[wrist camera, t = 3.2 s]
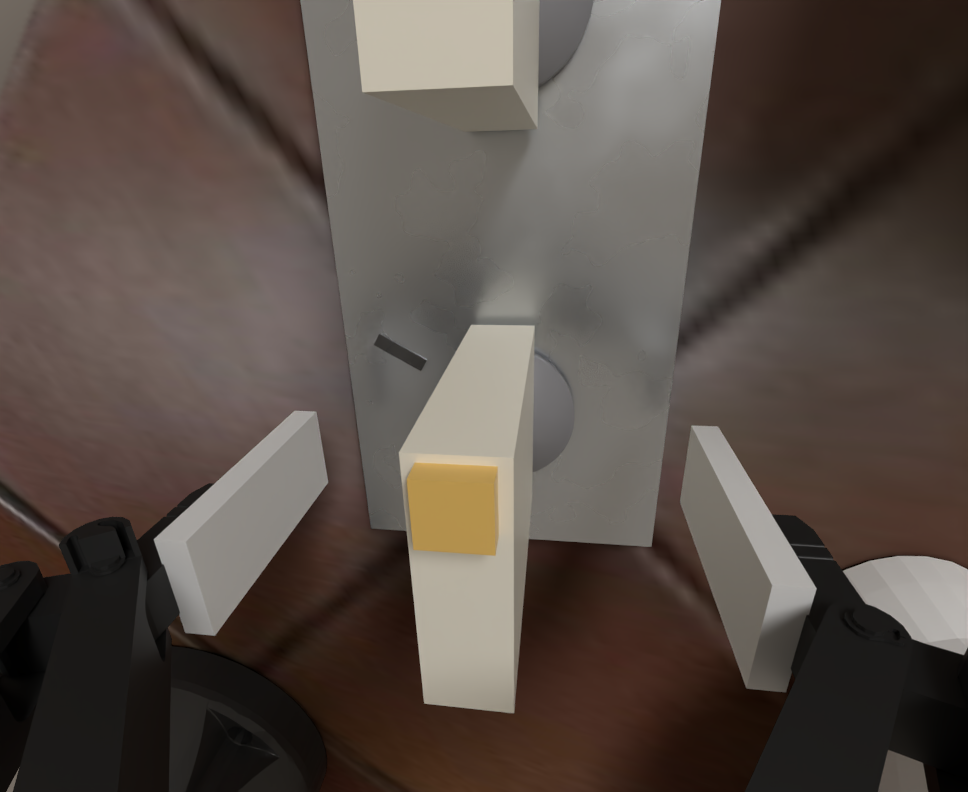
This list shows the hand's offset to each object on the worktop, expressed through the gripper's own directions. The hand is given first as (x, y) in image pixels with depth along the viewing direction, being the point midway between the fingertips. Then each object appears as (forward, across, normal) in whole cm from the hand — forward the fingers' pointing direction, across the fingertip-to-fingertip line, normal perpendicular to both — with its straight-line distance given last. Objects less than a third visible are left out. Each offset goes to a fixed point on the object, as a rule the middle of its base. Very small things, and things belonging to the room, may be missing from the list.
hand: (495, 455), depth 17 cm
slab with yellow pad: (+3, 0, 0) cm, 3 cm away
